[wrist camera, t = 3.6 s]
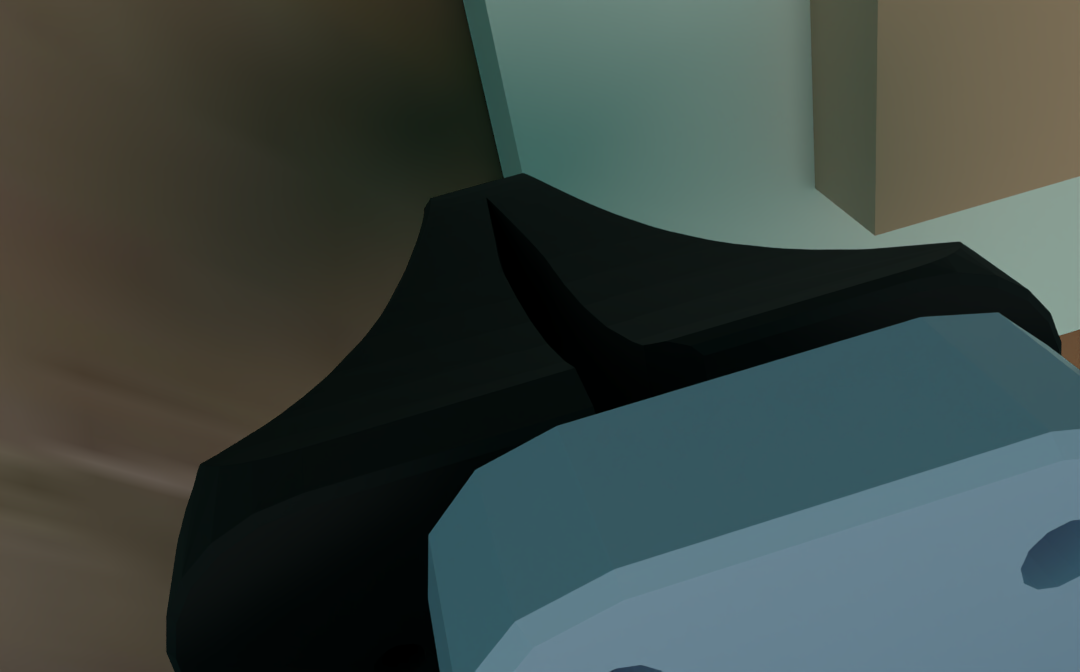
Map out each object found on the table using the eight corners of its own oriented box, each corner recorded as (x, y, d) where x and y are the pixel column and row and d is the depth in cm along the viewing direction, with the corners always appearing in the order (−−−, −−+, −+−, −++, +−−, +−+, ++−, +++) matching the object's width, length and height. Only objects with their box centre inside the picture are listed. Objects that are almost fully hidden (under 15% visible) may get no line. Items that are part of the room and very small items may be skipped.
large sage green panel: (1183, 208, 22) (1296, 262, 20) (554, 395, 21) (588, 479, 18) (1354, -575, 15) (1572, -646, 12) (379, -361, 13) (400, -393, 11)
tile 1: (1022, 129, 17) (1104, 168, 15) (815, 188, 16) (874, 235, 14) (1048, -113, 14) (1147, -98, 13) (808, -51, 14) (878, -27, 12)
